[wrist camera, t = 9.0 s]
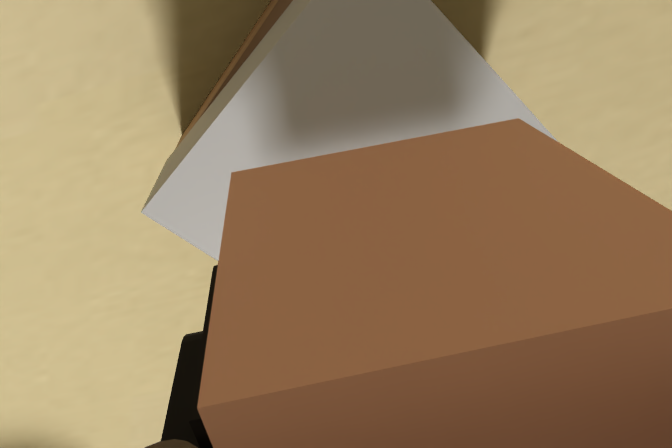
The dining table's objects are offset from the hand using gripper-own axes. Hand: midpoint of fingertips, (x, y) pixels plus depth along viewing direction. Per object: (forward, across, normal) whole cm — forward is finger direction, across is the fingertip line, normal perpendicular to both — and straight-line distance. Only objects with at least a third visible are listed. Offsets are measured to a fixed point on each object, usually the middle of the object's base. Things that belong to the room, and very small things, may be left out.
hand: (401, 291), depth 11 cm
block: (+1, 0, 0) cm, 1 cm away
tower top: (+10, 0, 0) cm, 10 cm away
